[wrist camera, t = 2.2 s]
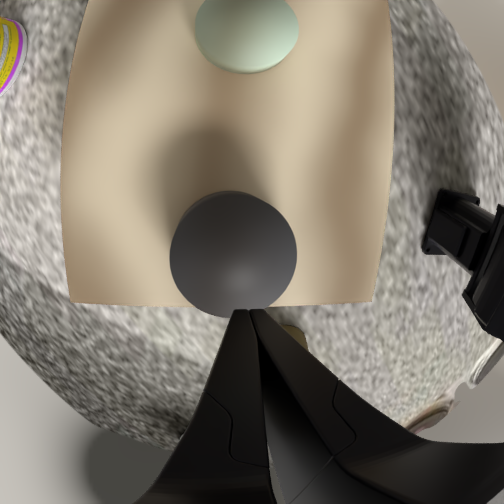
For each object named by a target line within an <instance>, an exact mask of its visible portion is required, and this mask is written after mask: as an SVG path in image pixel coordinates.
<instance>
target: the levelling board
mask: <svg viewBox="0 0 504 504" xmlns="http://www.w3.org/2000/svg"><path fill="white" fill-rule="evenodd" d="M393 138H394V63H393V46H392V34H391V23H390V14H389V6H388V0H89V1H88V4H87V7H86V10H85V13H84V17H83V20H82V24H81V28H80V31H79V35H78V39H77V43H76V48H75V52H74V57H73V61H72V67H71V72H70V77H69V83H68V90H67V97H66V104H65V112H64V122H63V133H62V148H61V183H60V186H61V221H62V236H63V248H64V258H65V267H66V274H67V282H68V288H69V295H70V301H71V302H74V303H89V304H106V305H127V306H156V307H196V308H198V309H200V310H201V311H203V312H206V313H208V314H211V315H214V316H218V317H225V318H231V315H232V313H233V310H235V309H247V310H248V311H249V310H250V309H265V308H267V307H274V306H304V305H326V304H344V303H359V302H372V297H373V292H374V288H375V283H376V278H377V273H378V267H379V262H380V256H381V250H382V244H383V238H384V231H385V224H386V217H387V209H388V201H389V191H390V181H391V170H392V156H393Z"/></svg>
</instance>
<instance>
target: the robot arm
mask: <svg viewBox="0 0 504 504" xmlns="http://www.w3.org/2000/svg"><path fill="white" fill-rule="evenodd" d="M443 193H444V194H443ZM479 204H480V198H478V197H477V196H473V195H469V194H465V193H461V192H457V191H453V190H449V189H445V188H442V189H440V191H439V193H438V197H437V201H436V204H435V208H434V211H433V215H432V218H431V222H430V225H429V228H428V232H427V235H426V238H425V241H424V244H423V247H422V252H423V253H425V254H426V255H448V256H449V257H450V258H451V259H452V260H454V261H455V262H456V263H457V264H458V265H460V266H461V267H462V268H463V269H464V270H465V271H467V272H468V273H469V274H470V275H471V278H470V281H469V283H468V285H467V287H466V289H464V291H463V293H462V296H463V298H464V300H465V301H466V303H467V305H468V306H469V308H470V309H471V311H472V313H473V314H474V316H475V317H476V319H477V321H478V322H479V324H480V326H481V328H482V329H483V330H484V331H486V332H487V333H488V334H491V335H492V336H494V337H496V338H499V339H501V340H502V341H503V342H504V206H503V205H501V204H498V206H497V209H496V210H497V212H496V215H495V216H494V215H493V214H491V213H489V212H488V211H486V210H484V209H483V208H481V207H479ZM426 249H427V250H426ZM267 442H268V446H269V450H270V453H271V457H272V460H273V463H274V467H275V470H276V474H277V477H278V480H279V483H280V487H281V490H282V494H283V497H284V500H285V503H286V504H504V442H503V443H452V442H437V441H431V440H427V439H424V438H421V437H419V436H417V435H415V434H413V433H412V432H410V431H409V430H407V429H405V428H404V427H402V426H401V425H399V424H398V423H396V422H395V421H393V420H392V419H390V418H389V417H387V416H386V415H385V414H383V413H382V412H380V411H379V410H377V409H376V408H374V407H373V406H372V405H370V404H369V403H368V402H366V401H365V400H364V399H362V398H361V397H360V396H359V395H357V394H356V393H355V392H354V391H353V390H351V389H350V388H349V387H348V386H347V385H346V384H345V383H343V382H342V381H341V380H338V377H336V376H335V375H334V374H333V373H332V372H331V371H330V370H329V369H328V368H326V367H325V366H324V365H323V364H322V363H321V362H320V361H319V360H318V359H317V358H315V357H314V356H313V355H312V354H311V353H310V352H309V351H308V350H307V349H306V348H304V347H303V346H302V345H301V344H300V343H299V342H298V341H297V340H296V339H295V338H294V337H293V336H291V335H290V334H289V333H288V332H287V331H286V330H285V329H284V328H283V327H282V326H281V325H280V324H279V323H278V322H276V321H275V320H274V319H273V318H272V317H271V316H270V315H269V314H268V313H267V312H266V311H265V310H264V309H250V310H249V311H248V310H247V309H235V310H233V313H232V315H231V318H230V321H229V323H228V326H227V329H226V331H225V334H224V337H223V339H222V342H221V345H220V347H219V350H218V353H217V355H216V358H215V361H214V363H213V366H212V369H211V371H210V374H209V377H208V379H207V382H206V385H205V387H204V390H203V392H202V395H201V397H200V400H199V403H198V405H197V407H196V410H195V412H194V414H193V417H192V419H191V421H190V423H189V425H188V427H187V428H186V430H185V432H184V434H183V436H182V438H181V439H180V441H179V443H178V444H177V446H176V448H175V449H174V451H173V453H172V455H171V456H170V458H169V459H168V461H167V463H166V464H165V466H164V467H163V469H162V471H161V473H160V474H159V475H158V477H157V478H156V480H155V481H154V483H153V484H152V485H151V486H150V487H149V489H148V490H147V491H146V492H145V493H144V494H143V495H142V496H141V497H140V498H138V499H137V500H136V501H135V502H134V503H132V504H277V502H276V499H275V496H274V493H273V489H272V484H271V477H270V470H269V457H268V446H267Z"/></svg>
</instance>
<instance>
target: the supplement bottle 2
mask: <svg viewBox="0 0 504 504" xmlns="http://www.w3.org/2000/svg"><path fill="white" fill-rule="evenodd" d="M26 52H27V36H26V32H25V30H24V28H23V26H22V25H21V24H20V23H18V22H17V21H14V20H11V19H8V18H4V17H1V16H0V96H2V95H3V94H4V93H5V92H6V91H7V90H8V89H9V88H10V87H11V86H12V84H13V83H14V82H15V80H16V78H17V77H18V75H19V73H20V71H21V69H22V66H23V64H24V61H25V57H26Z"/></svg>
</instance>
